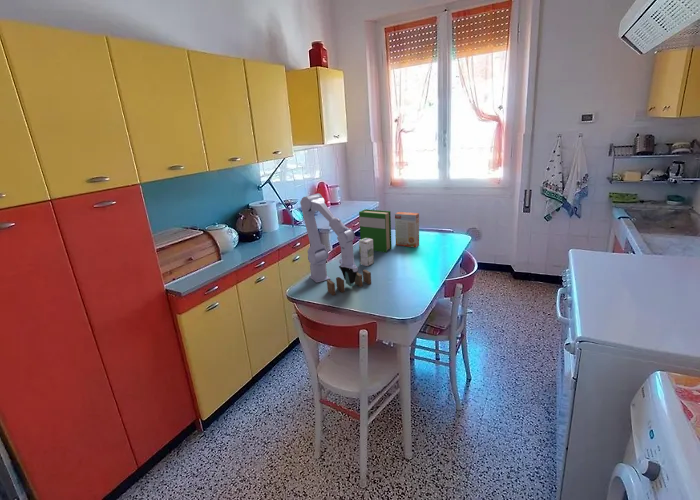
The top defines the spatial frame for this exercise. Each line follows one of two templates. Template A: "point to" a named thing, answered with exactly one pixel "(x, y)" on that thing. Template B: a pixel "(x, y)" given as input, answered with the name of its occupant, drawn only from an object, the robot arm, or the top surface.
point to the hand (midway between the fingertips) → (349, 281)
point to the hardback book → (376, 228)
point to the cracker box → (407, 229)
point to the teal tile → (348, 280)
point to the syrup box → (366, 251)
